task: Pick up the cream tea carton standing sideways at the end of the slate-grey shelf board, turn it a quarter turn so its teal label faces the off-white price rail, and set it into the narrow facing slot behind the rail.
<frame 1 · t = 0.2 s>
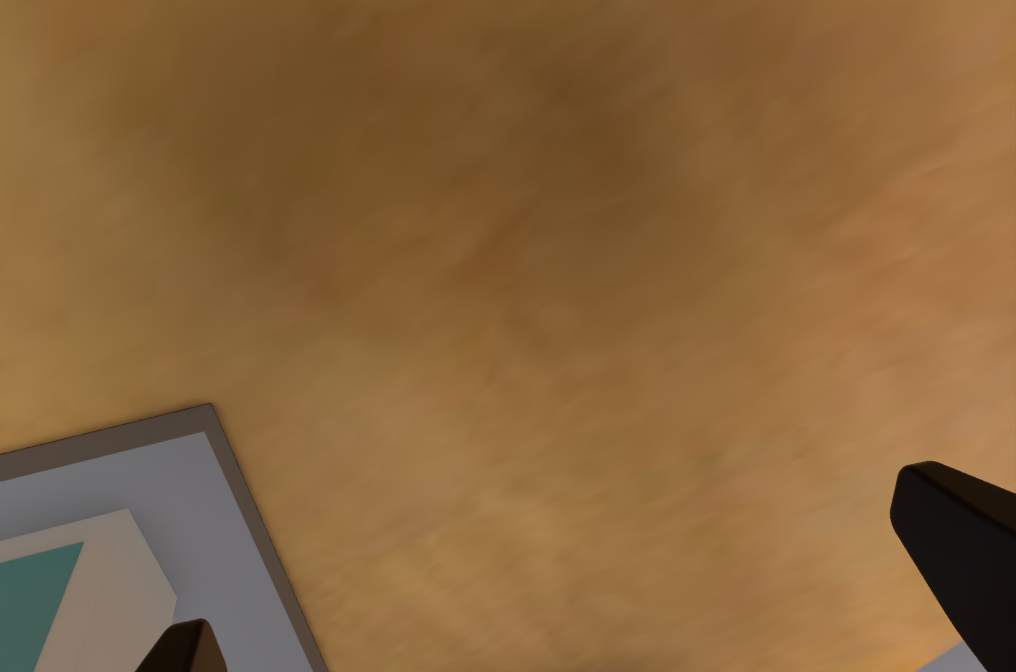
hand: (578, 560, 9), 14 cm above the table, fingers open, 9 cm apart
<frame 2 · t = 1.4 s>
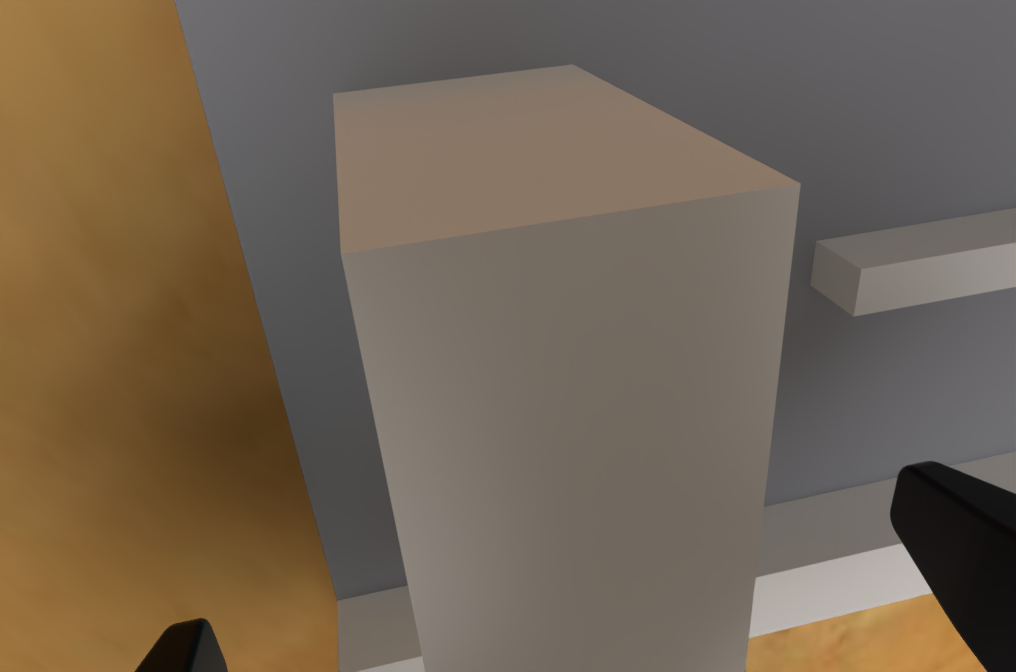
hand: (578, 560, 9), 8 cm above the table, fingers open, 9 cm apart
tea carton: (484, 342, 15), point 1 cm above the table, touching shelf board
shelf board: (813, 251, 17), on the table
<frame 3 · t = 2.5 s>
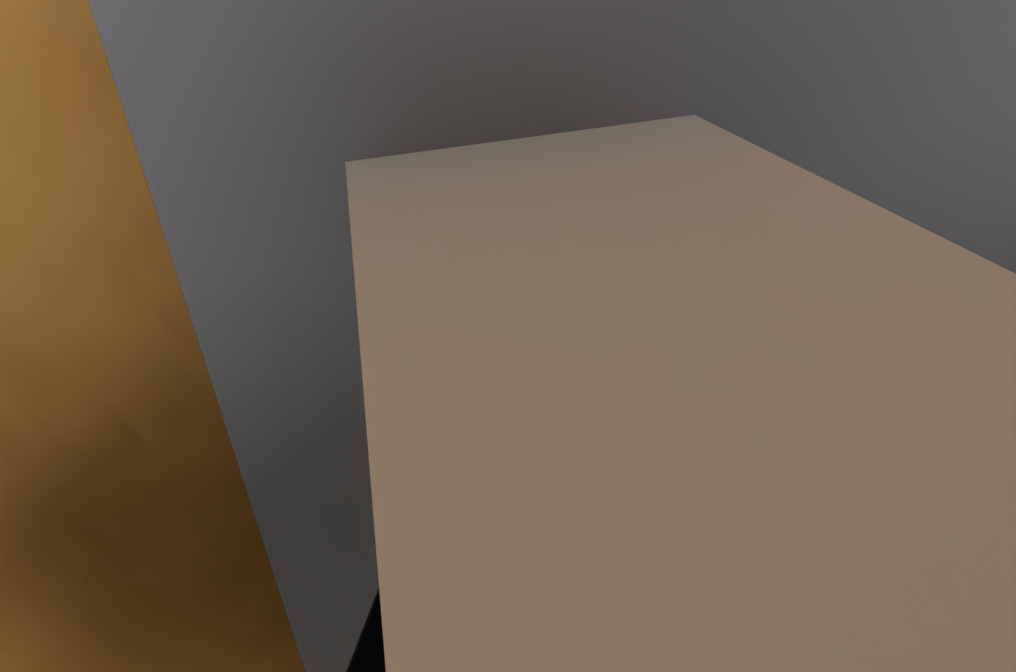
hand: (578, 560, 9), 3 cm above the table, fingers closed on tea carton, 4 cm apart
tea carton: (549, 484, 11), point 1 cm above the table, touching gripper, shelf board
shelf board: (964, 341, 13), on the table
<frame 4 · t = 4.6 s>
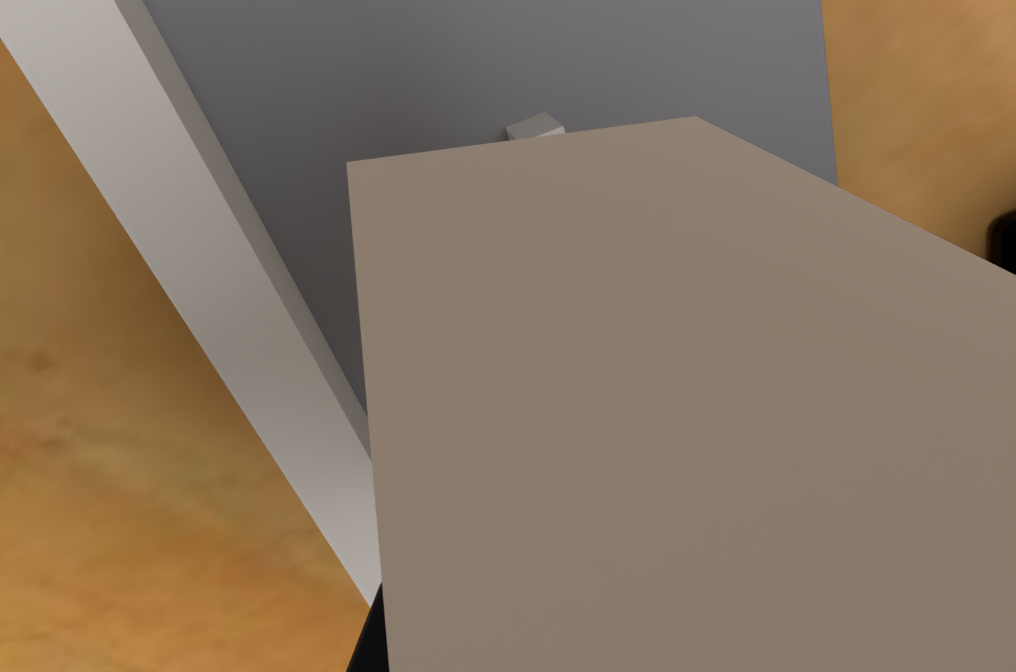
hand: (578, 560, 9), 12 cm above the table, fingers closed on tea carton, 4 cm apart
tea carton: (549, 485, 11), point 11 cm above the table, touching gripper
shelf board: (504, 151, 19), on the table
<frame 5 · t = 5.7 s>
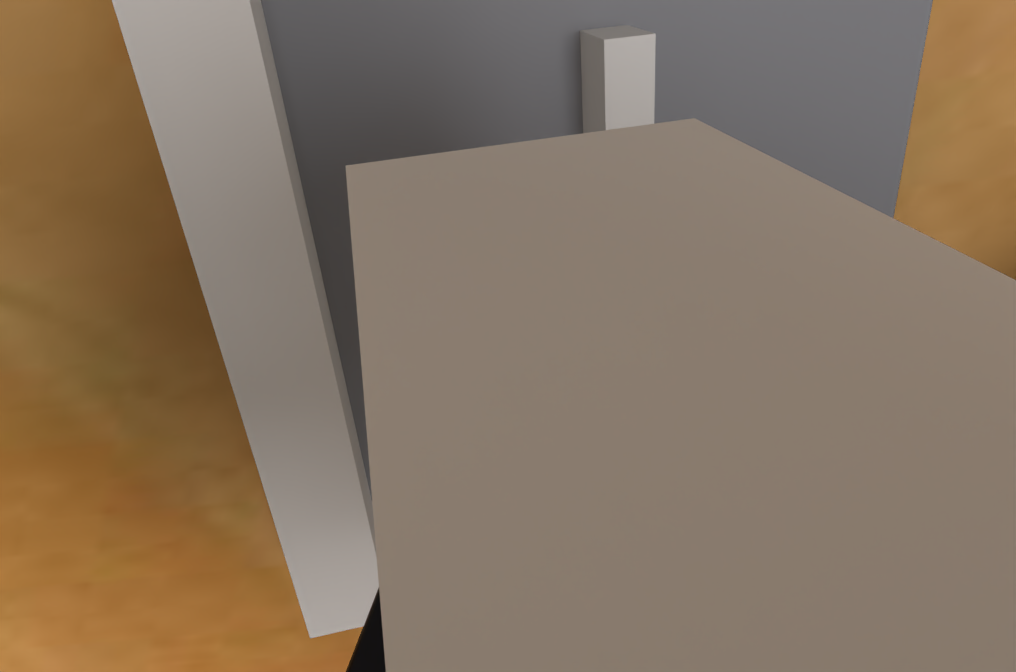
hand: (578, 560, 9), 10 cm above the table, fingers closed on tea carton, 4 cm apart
tea carton: (549, 487, 11), point 9 cm above the table, touching gripper
shelf board: (561, 70, 17), on the table
when the fingers open (5 cm above the table, at t = 6.8 s): tea carton drops 2 cm, resting on shelf board.
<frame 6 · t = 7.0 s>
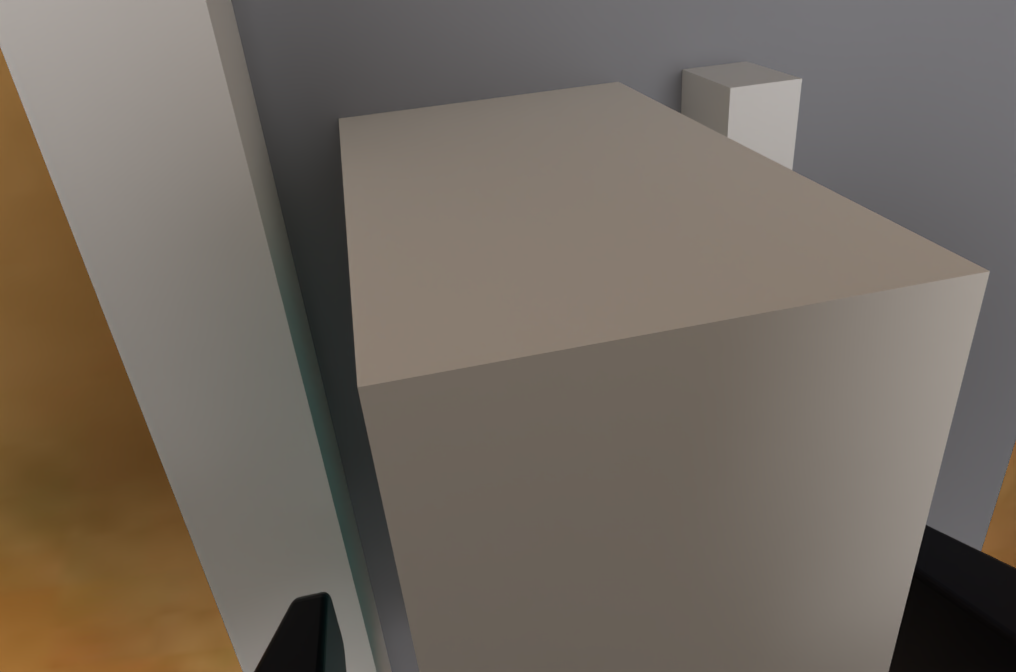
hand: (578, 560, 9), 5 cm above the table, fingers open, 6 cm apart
tea carton: (511, 395, 13), point 1 cm above the table, touching shelf board
shelf board: (644, 117, 13), on the table
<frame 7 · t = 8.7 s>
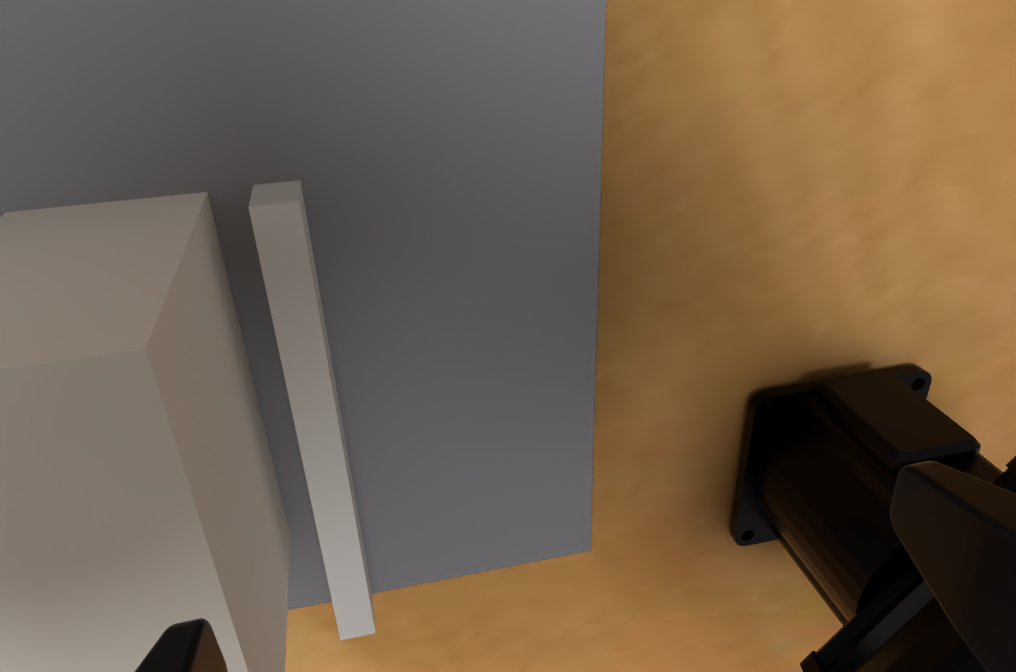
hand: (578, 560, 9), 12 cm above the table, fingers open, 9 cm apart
tea carton: (169, 397, 18), point 1 cm above the table, touching shelf board
shelf board: (265, 206, 18), on the table
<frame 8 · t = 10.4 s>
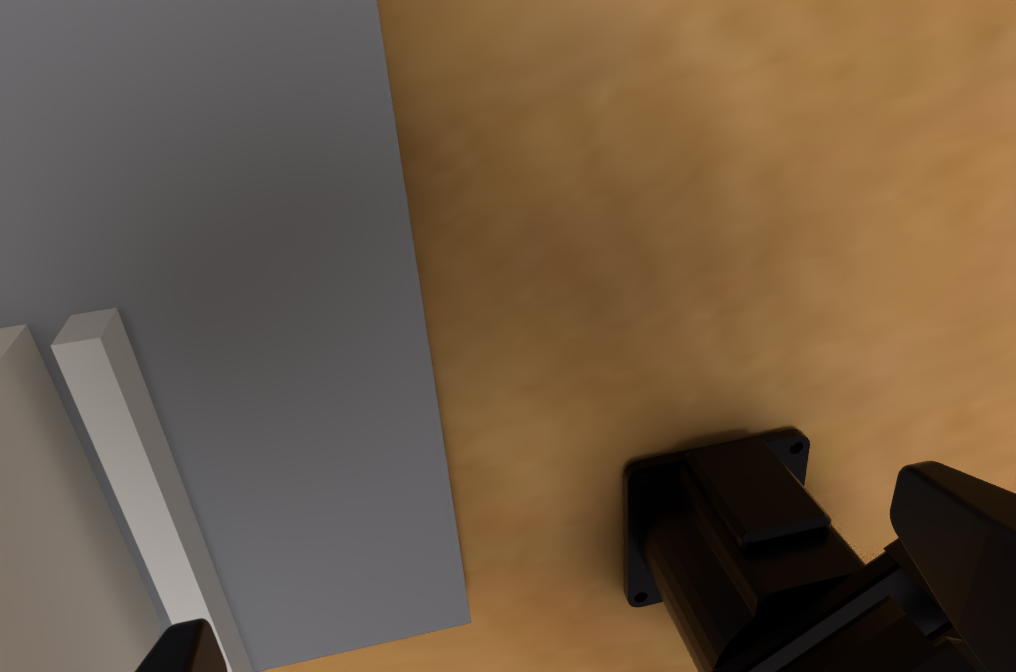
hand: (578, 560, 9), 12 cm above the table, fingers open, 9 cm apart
tea carton: (20, 507, 19), point 1 cm above the table, touching shelf board
shelf board: (102, 323, 19), on the table
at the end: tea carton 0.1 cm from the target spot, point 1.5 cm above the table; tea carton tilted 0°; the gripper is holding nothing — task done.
